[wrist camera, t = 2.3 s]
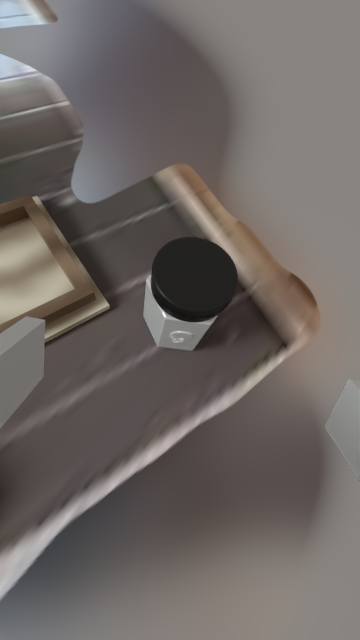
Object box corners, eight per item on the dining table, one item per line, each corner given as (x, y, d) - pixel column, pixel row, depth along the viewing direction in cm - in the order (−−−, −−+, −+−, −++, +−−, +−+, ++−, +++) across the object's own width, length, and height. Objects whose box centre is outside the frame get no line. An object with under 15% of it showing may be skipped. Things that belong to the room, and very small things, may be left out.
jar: (138, 346, 34) (141, 305, 23) (147, 289, 37) (152, 228, 26) (209, 354, 35) (243, 319, 24) (211, 298, 38) (242, 244, 27)
